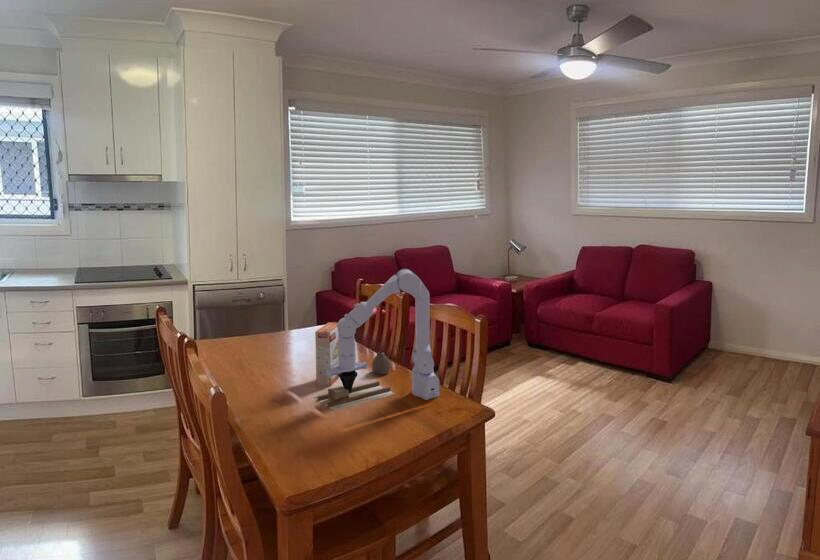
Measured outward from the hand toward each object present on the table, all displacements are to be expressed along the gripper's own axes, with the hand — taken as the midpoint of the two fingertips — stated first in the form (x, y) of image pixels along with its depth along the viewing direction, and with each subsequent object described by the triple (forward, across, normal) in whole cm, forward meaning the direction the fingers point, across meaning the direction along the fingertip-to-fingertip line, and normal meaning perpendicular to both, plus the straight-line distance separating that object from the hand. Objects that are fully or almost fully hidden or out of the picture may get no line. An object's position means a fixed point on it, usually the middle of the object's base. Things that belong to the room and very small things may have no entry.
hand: (347, 392), depth 193 cm
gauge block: (+2, +4, 0) cm, 4 cm away
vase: (+3, -23, -14) cm, 27 cm away
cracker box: (+3, -4, -19) cm, 20 cm away
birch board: (+3, -3, 0) cm, 4 cm away
